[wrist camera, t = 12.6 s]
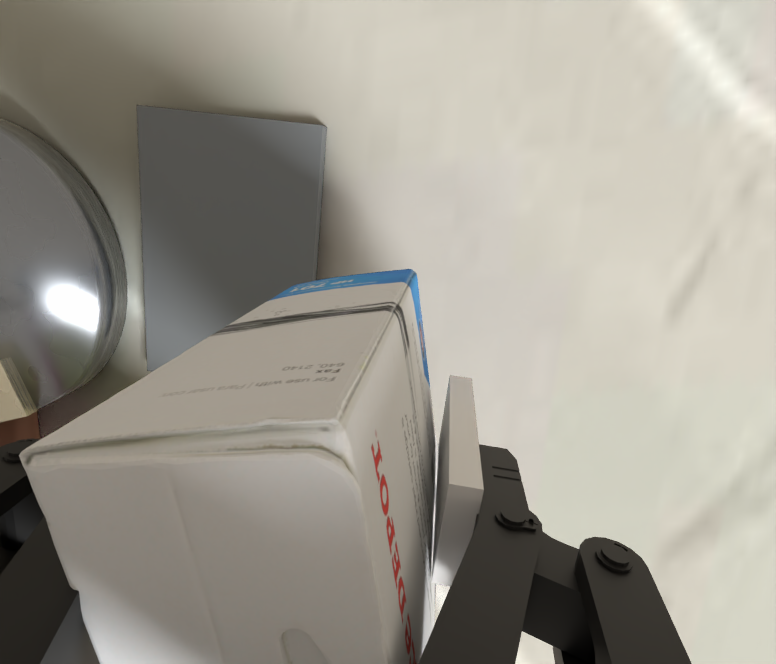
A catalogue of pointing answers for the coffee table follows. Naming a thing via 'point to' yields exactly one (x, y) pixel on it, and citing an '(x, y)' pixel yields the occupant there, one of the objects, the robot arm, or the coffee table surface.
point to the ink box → (259, 489)
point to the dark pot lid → (52, 276)
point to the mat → (222, 219)
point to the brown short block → (19, 429)
